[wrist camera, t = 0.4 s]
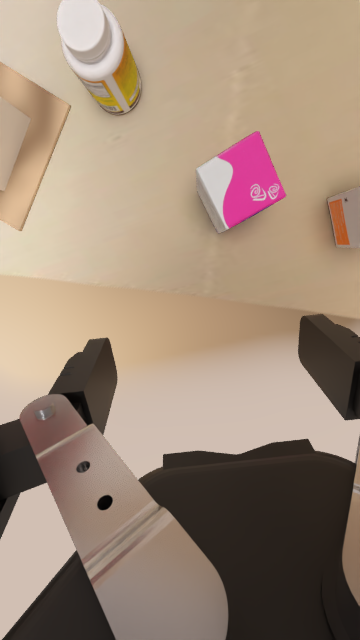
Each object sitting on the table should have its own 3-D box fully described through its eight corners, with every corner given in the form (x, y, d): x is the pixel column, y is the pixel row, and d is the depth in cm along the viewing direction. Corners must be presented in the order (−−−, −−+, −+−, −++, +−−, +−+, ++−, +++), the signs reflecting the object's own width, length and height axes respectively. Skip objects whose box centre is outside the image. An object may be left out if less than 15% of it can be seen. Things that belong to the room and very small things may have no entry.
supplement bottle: (132, 50, 32) (98, -39, 22) (149, 105, 33) (125, 44, 23) (86, 71, 32) (34, -4, 23) (104, 124, 34) (63, 74, 24)
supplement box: (218, 236, 36) (224, 231, 25) (196, 191, 35) (191, 165, 24) (262, 211, 35) (288, 195, 24) (240, 164, 34) (257, 124, 22)
